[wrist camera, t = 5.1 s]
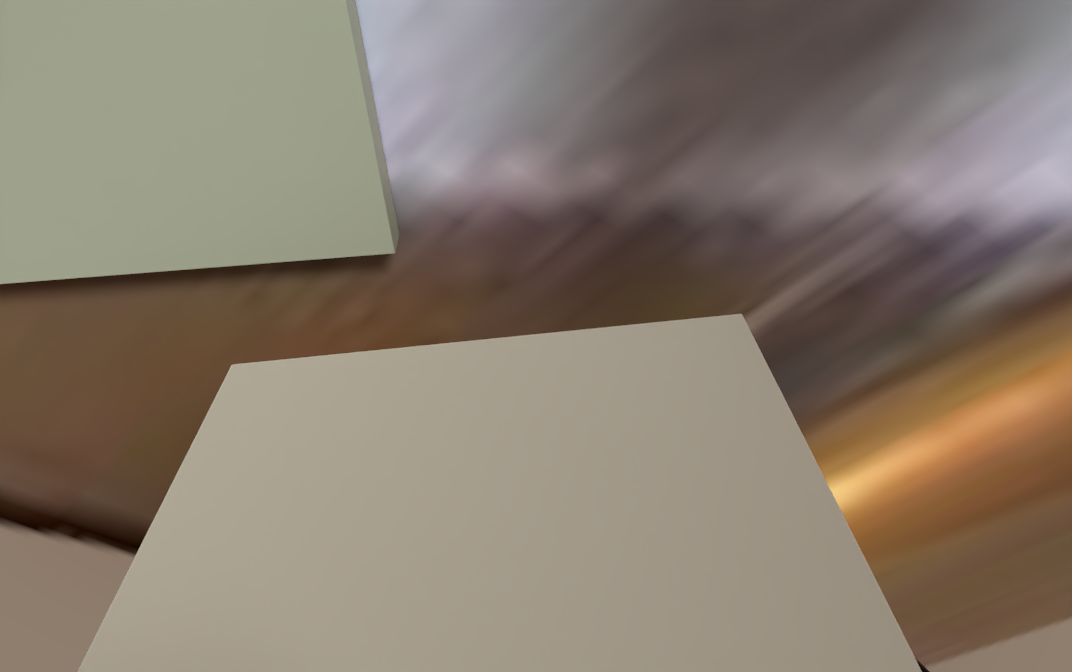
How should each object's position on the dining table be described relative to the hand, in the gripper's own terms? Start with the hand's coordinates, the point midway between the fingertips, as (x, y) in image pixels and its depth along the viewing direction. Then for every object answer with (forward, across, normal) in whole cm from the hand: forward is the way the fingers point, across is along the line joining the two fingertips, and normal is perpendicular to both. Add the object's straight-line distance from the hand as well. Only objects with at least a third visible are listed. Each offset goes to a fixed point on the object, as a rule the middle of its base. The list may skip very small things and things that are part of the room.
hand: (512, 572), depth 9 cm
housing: (+1, 0, 0) cm, 1 cm away
